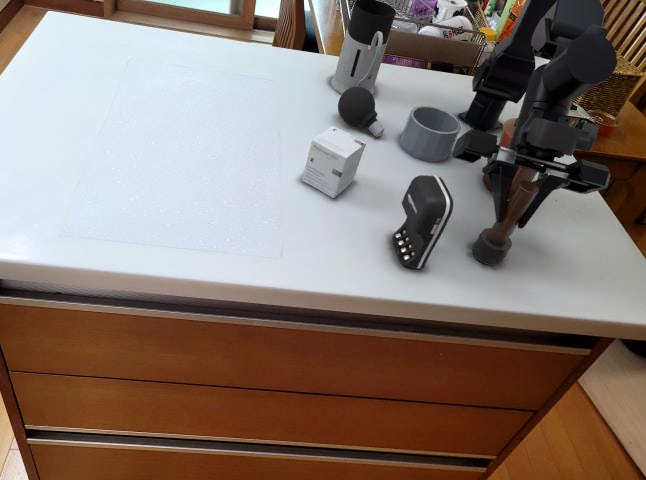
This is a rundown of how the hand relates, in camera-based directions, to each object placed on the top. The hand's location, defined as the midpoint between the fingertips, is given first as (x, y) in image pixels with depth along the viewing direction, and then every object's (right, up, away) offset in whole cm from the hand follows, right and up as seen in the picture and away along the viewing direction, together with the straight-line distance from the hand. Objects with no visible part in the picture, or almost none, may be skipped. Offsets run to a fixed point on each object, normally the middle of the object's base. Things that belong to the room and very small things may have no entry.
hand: (509, 225), depth 72 cm
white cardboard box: (-23, +8, +12) cm, 27 cm away
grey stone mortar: (-5, +16, +24) cm, 29 cm away
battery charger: (-13, -4, +4) cm, 14 cm away
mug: (+6, +7, +18) cm, 20 cm away
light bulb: (-16, +20, +25) cm, 36 cm away
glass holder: (-16, +28, +33) cm, 46 cm away
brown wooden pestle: (-1, -3, +6) cm, 7 cm away
